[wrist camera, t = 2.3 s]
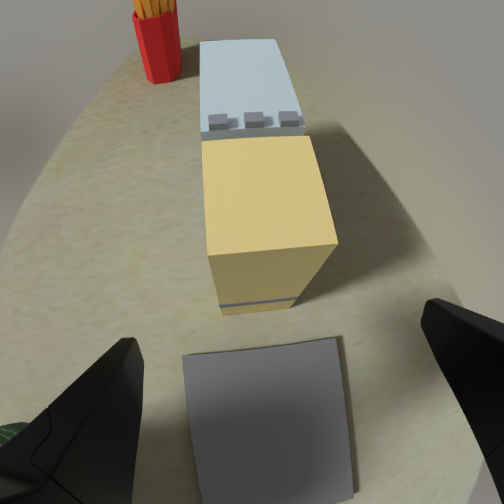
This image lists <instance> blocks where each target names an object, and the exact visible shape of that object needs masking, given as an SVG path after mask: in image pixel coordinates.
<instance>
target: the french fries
mask: <svg viewBox="0 0 504 504" xmlns="http://www.w3.org/2000/svg"><path fill="white" fill-rule="evenodd" d="M133 3H134V7H135V11H134V13H133V15H132V19H133V23H134V27H135V31H136V36H137V40H138V44H139V48H140V52H141V56H142V60H143V64H144V68H145V72H146V76H147V79H148V80H149V81H150V82H152V83H153V84H159V83H166V82H171V81H173V80H174V79H175V78H177V77H178V76H179V75H180V71H181V63H182V55H181V46H180V37H179V26H178V16H177V5H176V0H133Z"/></svg>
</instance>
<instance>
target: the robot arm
mask: <svg viewBox="0 0 504 504" xmlns="http://www.w3.org/2000/svg"><path fill="white" fill-rule="evenodd" d="M421 328H422V330H423V332H424V334H425V336H426V339H427V341H428V343H429V345H430V347H431V350H432V352H433V354H434V357H435V359H436V361H437V363H438V365H439V367H440V369H441V371H442V372H443V374H444V376H445V378H446V380H447V382H448V383H449V385H450V387H451V389H452V391H453V393H454V395H455V397H456V399H457V401H458V403H459V405H460V407H461V409H462V411H463V413H464V415H465V417H466V419H467V421H468V423H469V425H470V427H471V429H472V431H473V433H474V436H475V438H476V440H477V442H478V444H479V447H480V449H481V451H482V454H483V456H484V458H485V461H486V463H487V466H488V468H489V471H490V473H491V475H492V478H493V481H494V483H495V486H496V488H497V491H498V494H499V497H500V499H501V502H502V504H504V323H501V322H499V321H496V320H493V319H491V318H488V317H486V316H483V315H481V314H478V313H475V312H473V311H470V310H468V309H465V308H463V307H460V306H457V305H455V304H452V303H449V302H447V301H444V300H442V299H439V298H435V299H430V300H428V301H427V302H426V303H425V307H424V311H423V314H422V318H421ZM143 377H144V361H143V357H142V354H141V351H140V348H139V345H138V342H137V340H136V339H135V338H134V337H129V338H121V339H120V340H119V341H118V342H117V343H115V344H114V345H113V346H112V347H111V348H110V349H109V350H108V351H107V352H106V353H105V354H103V355H102V356H101V357H100V358H99V359H98V360H97V361H96V362H95V363H94V364H93V365H92V366H90V367H89V368H88V369H87V370H86V371H85V372H84V373H83V374H82V375H81V376H80V377H79V378H78V379H76V380H75V381H74V382H73V383H72V384H71V385H70V386H69V387H68V388H67V389H66V390H65V391H64V392H63V393H62V394H61V395H59V396H58V397H57V398H56V399H55V400H54V401H53V402H52V403H51V404H50V405H49V406H48V408H46V409H45V410H44V411H42V412H41V413H40V414H39V415H38V416H37V417H36V418H35V419H34V420H33V421H32V422H31V423H29V424H28V425H27V426H26V427H25V428H24V429H23V430H21V431H20V432H19V433H18V434H16V435H15V436H14V437H13V438H11V439H10V440H9V441H8V442H6V443H5V444H4V445H3V446H1V447H0V504H131V503H132V491H133V480H134V471H135V462H136V453H137V445H138V437H139V430H140V423H141V416H142V404H143Z"/></svg>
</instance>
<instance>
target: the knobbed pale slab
mask: <svg viewBox="0 0 504 504" xmlns="http://www.w3.org/2000/svg"><path fill="white" fill-rule="evenodd" d="M200 120H201V138H202V141H211V140H223V139H237V138H254V137H277V136H304V133H305V129H306V125H305V122H304V119H303V116H302V112H301V109H300V106H299V103H298V100H297V97H296V95H295V92H294V89H293V86H292V83H291V80H290V77H289V75H288V72H287V69H286V66H285V64H284V61H283V59H282V56H281V53H280V50H279V48H278V45H277V43H276V40H275V39H239V40H218V41H205V42H200Z"/></svg>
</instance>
